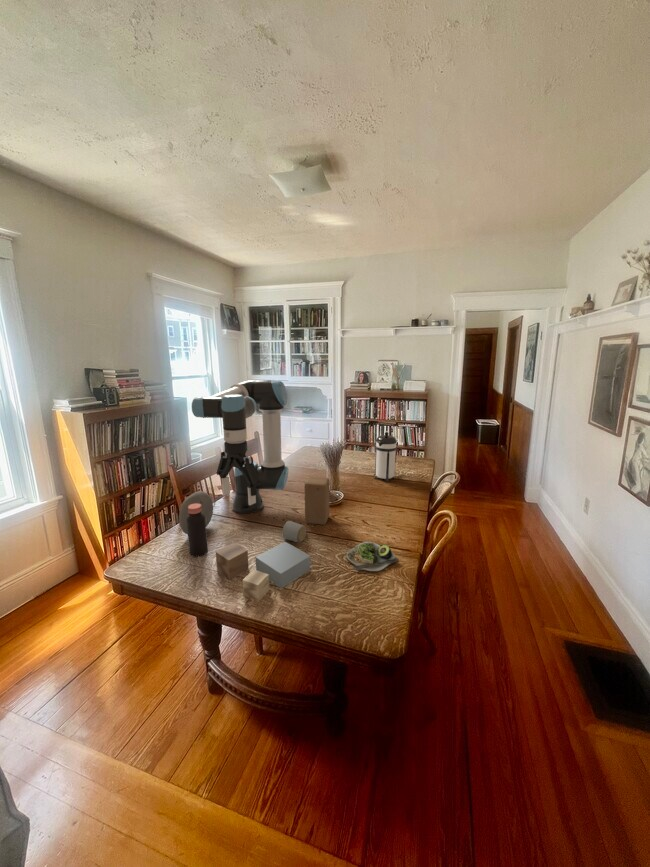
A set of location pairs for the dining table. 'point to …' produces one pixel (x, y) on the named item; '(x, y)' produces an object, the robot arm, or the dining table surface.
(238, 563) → the walnut cube
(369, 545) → the salad plate
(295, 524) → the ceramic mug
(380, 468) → the coffee press
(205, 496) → the grey round disc
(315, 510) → the wooden block
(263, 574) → the maple cube
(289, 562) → the slate block
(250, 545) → the dining table surface
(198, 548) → the bottle
